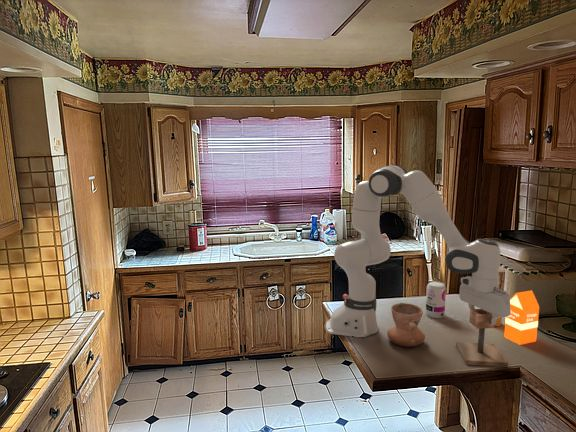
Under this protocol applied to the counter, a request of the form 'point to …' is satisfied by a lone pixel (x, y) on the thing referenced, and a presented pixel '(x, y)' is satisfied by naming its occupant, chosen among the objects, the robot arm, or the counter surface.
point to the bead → (480, 318)
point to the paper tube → (501, 286)
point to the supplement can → (435, 299)
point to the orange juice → (522, 318)
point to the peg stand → (480, 352)
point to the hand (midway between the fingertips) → (482, 319)
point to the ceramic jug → (406, 325)
